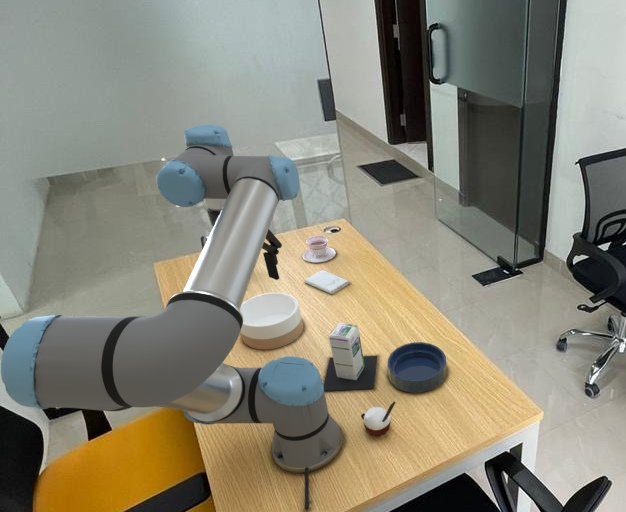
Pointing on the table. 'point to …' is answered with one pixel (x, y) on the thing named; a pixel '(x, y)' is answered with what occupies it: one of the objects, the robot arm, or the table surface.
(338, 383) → the mat
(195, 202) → the robot arm
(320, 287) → the hard drive
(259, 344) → the bowl
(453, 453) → the table surface
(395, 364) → the serving bowl
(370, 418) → the cocoa
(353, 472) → the table surface
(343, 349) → the syrup box
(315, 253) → the teacup
